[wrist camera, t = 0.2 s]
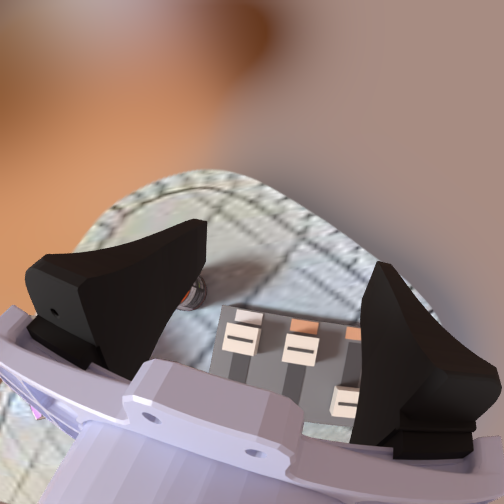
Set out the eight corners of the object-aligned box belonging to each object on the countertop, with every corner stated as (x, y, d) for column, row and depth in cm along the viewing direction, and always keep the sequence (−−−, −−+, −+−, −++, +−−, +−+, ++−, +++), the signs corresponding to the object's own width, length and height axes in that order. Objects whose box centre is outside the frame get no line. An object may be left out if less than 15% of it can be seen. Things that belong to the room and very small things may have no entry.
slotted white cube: (357, 412, 34) (362, 419, 31) (329, 409, 35) (332, 416, 32) (363, 388, 35) (369, 393, 32) (334, 385, 36) (338, 389, 33)
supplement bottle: (163, 290, 45) (126, 276, 34) (191, 264, 46) (160, 242, 35) (186, 319, 44) (152, 313, 33) (215, 293, 44) (189, 279, 33)
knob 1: (256, 354, 38) (253, 356, 35) (227, 348, 39) (221, 349, 36) (261, 328, 39) (258, 328, 36) (232, 323, 40) (226, 322, 37)
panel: (364, 424, 36) (367, 428, 33) (207, 398, 40) (203, 401, 38) (383, 330, 39) (387, 330, 37) (225, 306, 43) (221, 304, 41)
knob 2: (312, 363, 37) (314, 366, 34) (282, 359, 38) (281, 361, 35) (317, 338, 38) (319, 338, 35) (287, 333, 39) (286, 333, 35)
